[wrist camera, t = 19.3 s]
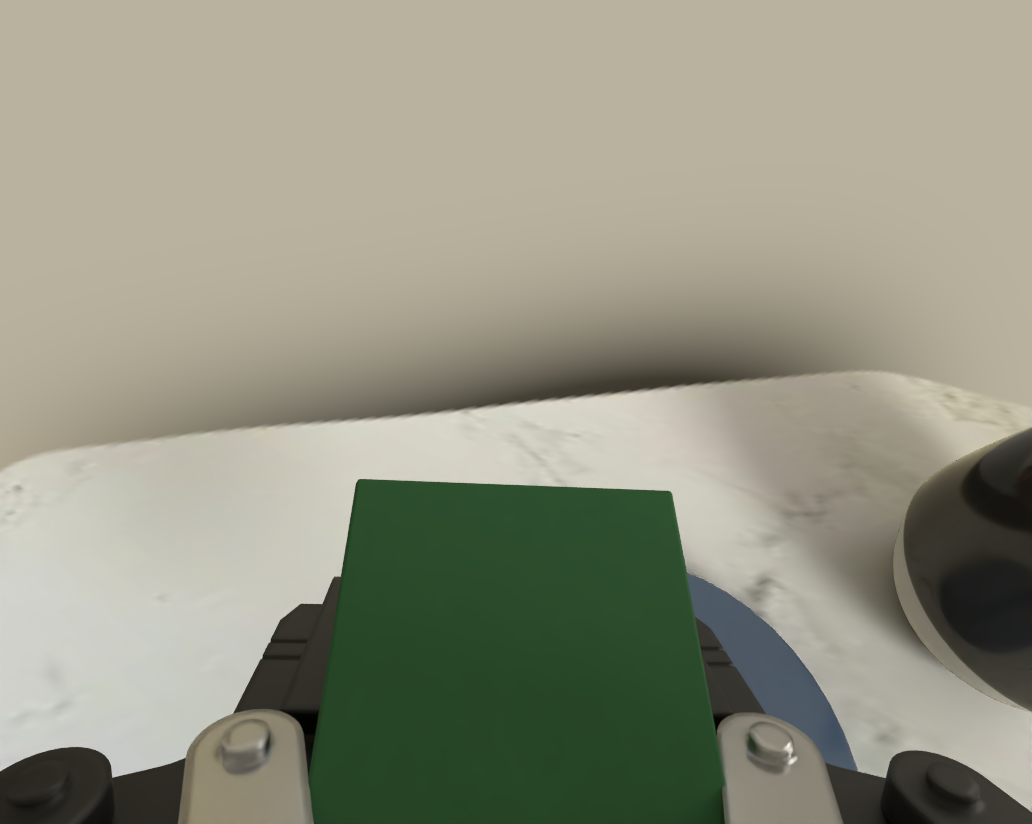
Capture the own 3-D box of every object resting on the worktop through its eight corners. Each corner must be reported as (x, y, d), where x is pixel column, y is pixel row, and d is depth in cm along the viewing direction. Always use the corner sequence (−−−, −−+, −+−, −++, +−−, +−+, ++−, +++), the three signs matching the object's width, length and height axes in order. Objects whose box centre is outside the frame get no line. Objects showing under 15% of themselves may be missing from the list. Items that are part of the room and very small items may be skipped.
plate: (482, 1236, 17) (486, 1273, 16) (349, 643, 25) (344, 634, 23) (944, 959, 21) (977, 970, 20) (711, 522, 29) (724, 508, 27)
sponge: (354, 999, 12) (254, 1102, 5) (390, 656, 15) (356, 476, 9) (601, 993, 12) (783, 1082, 6) (578, 660, 16) (673, 489, 9)
